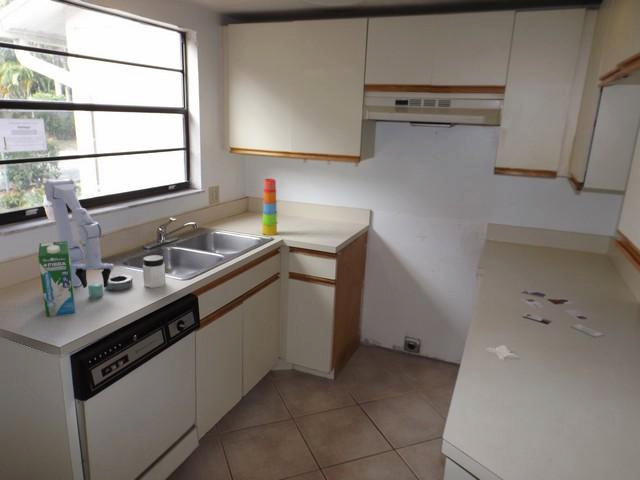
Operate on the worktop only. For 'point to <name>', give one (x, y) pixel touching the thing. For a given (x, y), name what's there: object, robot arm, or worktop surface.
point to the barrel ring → (119, 282)
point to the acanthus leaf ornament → (502, 352)
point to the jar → (154, 271)
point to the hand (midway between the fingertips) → (95, 286)
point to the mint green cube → (95, 290)
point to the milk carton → (56, 278)
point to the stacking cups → (269, 208)
